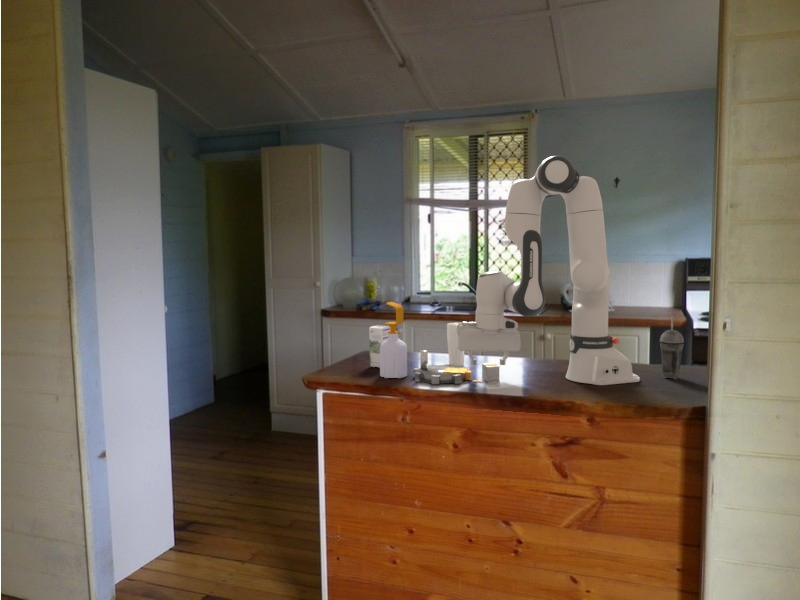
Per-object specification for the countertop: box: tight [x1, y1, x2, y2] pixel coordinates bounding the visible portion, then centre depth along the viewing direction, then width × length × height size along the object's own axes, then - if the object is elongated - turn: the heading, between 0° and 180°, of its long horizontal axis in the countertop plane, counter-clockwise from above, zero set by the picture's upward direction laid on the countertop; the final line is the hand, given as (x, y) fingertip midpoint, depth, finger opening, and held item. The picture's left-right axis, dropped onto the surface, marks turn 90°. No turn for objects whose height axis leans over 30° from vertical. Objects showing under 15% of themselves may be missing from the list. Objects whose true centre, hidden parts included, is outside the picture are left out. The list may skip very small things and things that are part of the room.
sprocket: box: [412, 349, 473, 385], centre depth 199 cm, size 19×19×8 cm
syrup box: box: [368, 325, 391, 369], centre depth 219 cm, size 6×6×14 cm
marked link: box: [481, 362, 500, 383], centre depth 197 cm, size 4×6×5 cm, turn 7°
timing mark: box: [471, 379, 484, 383], centre depth 194 cm, size 3×1×1 cm, turn 67°
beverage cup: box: [659, 314, 685, 379], centre depth 196 cm, size 7×7×20 cm
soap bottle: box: [379, 301, 408, 379], centre depth 203 cm, size 9×9×25 cm
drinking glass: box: [446, 322, 466, 367], centre depth 219 cm, size 7×7×15 cm
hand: (488, 364), depth 197 cm, fingers open, 8 cm apart
